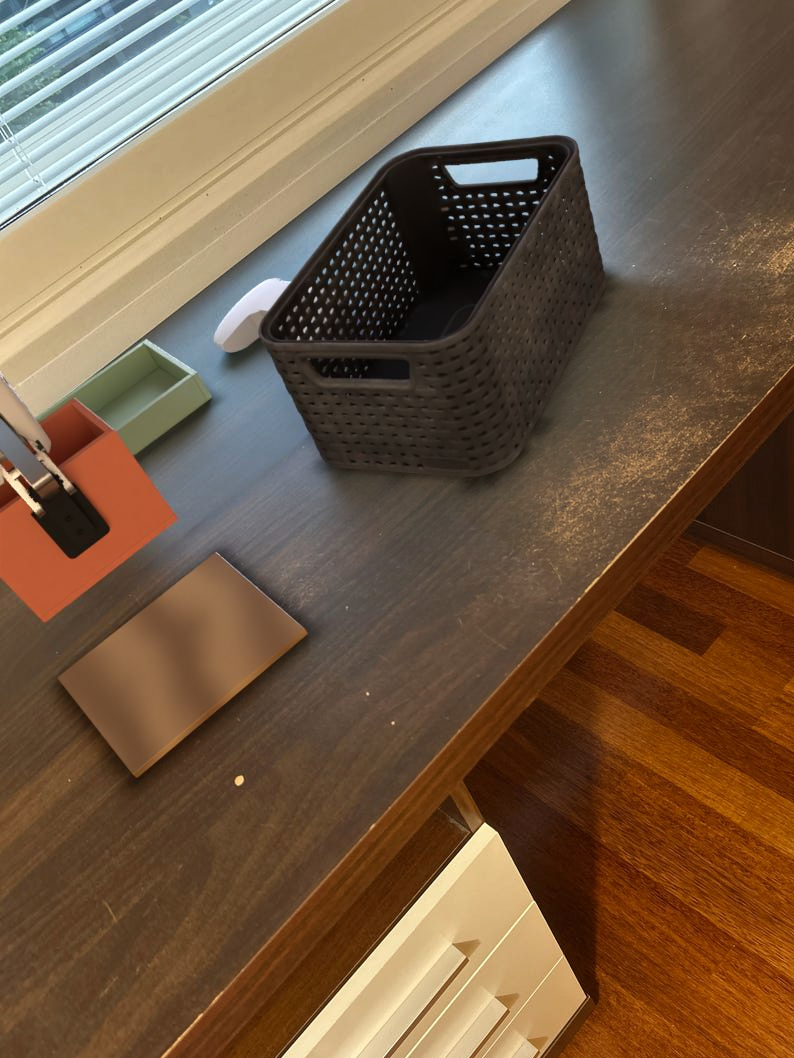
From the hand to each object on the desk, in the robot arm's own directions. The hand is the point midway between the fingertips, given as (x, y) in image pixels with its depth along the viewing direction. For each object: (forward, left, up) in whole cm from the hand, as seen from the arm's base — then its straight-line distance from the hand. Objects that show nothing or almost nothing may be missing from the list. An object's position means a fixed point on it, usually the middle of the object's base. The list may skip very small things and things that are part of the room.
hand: (67, 520), depth 68 cm
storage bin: (+36, +6, -16) cm, 40 cm away
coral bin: (0, 0, -3) cm, 3 cm away
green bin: (+12, +32, -15) cm, 37 cm away
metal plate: (0, 0, -15) cm, 15 cm away
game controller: (+30, +27, -16) cm, 43 cm away
